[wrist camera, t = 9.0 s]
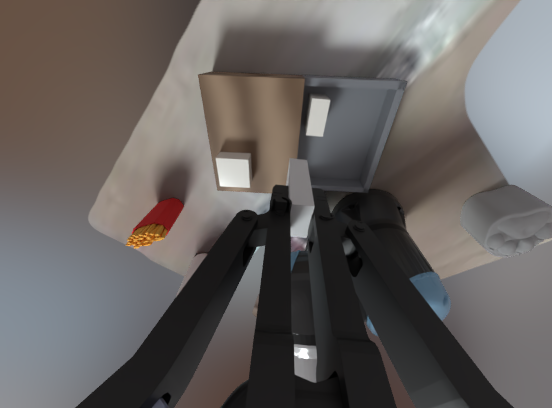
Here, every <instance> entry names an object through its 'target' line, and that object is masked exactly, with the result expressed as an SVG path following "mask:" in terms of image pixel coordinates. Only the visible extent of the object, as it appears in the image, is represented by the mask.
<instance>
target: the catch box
mask: <svg viewBox="0 0 552 408" xmlns="http://www.w3.org/2000/svg"><path fill="white" fill-rule="evenodd" d="M303 77H304V78H305V83H304V93H303V103H302V113H301V124H300V134H299V144H298V155H297V159H302V160H307V163H308V169H309V175H310V181H311V187H312V188H319V189H322V190H326V191H344V192H363V193H368V191H369V188H370V185H371V182H372V180H373V177H374V174H375V171H376V168H377V166H378V163H379V160H380V157H381V154H382V152H383V149H384V146H385V143H386V140H387V138H388V135H389V132H390V129H391V126H392V123H393V121H394V118H395V115H396V112H397V109H398V107H399V104H400V101H401V98H402V95H403V93H404V90H405V87H406V84H407V81H403V80H398V79H388V78H362V77H336V76H310V75H303ZM309 93H317V94H326V96H327V97H328V98H329V99H330V105H329V109H328V114H327V119H326V124H325V128H324V133H323V137H320V136H309V135H306V132H305V127H304V124H305V118H306V111H307V105H308V98H309Z"/></svg>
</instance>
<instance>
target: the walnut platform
mask: <svg viewBox="0 0 552 408" xmlns="http://www.w3.org/2000/svg"><path fill="white" fill-rule="evenodd" d="M198 78H199V84H200V90H201V95H202V101H203V107H204V113H205V119H206V125H207V131H208V137H209V143H210V149H211V155H212V161H213V167H214V173H215V179H216V185H217V190H218V191H237V192H255V193H272V188H273V187H274V186H275V185H286V181H287V174H288V167H289V160H290V158H293V159H297V155H298V144H299V134H300V124H301V113H302V103H303V93H304V83H305V78H304V77H303V75H285V74H259V73H233V72H208V73H203V74H199V75H198ZM220 152H234V153H251V168H252V182H251V186H250V188H242V187H223V186H220V183H219V177H218V171H217V164H216V157H217V155H218V154H219V153H220Z"/></svg>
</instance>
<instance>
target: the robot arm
mask: <svg viewBox="0 0 552 408" xmlns="http://www.w3.org/2000/svg"><path fill="white" fill-rule="evenodd" d="M307 234H308V241H307V245H306V249H305V251H300V250H298V251H297V252H291V236H292V237H302V238H307ZM264 245H265V253H264V261H263V270H262V278H261V286H260V294H259V303H258V311H257V319H256V328H255V334H254V341H253V350H252V357H251V365H250V374H249V379H248V380H247V381H245V382H244V383H242V384H241V385H240V386H239V387H237V388H236V389H235V390H234V391H233V393H231V395H230V396H229V397H228V398H227V400H226V401H225V402H224V404H223V405H222V406H221V408H397V407H396V404H395V401H394V397H393V394H392V391H391V387H390V384H389V381H388V378H387V374H386V371H385V367H384V364H383V361H382V357H381V354H380V352H379V349H378V347H377V346H376V344H375V343H374V342H372V341H371V340H370V339H369V338H368V335H367V332H366V328H365V325H364V322H366V324H367V326H368V328H369V329H370V331H371V332H372V333H373V334H374V335H376V336H379V338H380V340H381V342H382V344H383V346H384V348H385V350H386V352H387V354H388V356H389V358H390V360H391V362H392V364H393V365H394V367H395V369H396V371H397V373H398V375H399V377H400V379H401V381H402V383H403V385H404V387H405V389H406V391H407V393H408V394H409V396H410V398H411V400H412V402H413V403H414V405H415V407H416V408H514V407H513V406H511V405H510V404H509V403H508V402H507V401H506V400H505V399H504V398H503V397H502V396H501V395H500V394H499V393H498V392H497V391H496V390H495V389H494V388H493V387H492V385H491V384H490V383H489V381H488V380H487V379H486V378H485V376H484V375H483V374H482V372H481V371H480V370H479V368H478V367H477V366H476V365H475V363H474V362H473V361H472V359H471V358H470V357H469V356H468V354H467V353H466V352H465V351H464V349H463V348H462V347H461V345H460V344H459V343H458V342H457V340H456V339H455V337H454V336H453V335H452V334H451V332H450V331H449V330H448V328H447V327H446V326H445V325H444V324H443V322H442V320H443V319H444V318H445V317H446V316H447V314H448V313H449V311H450V307H451V301H450V298H449V295H448V294H447V292H446V290H445V288H444V286H443V284H442V283H441V281H440V278H439V276H438V274H436V273H435V272H434V270H433V269H432V267H431V266H430V264H429V263H428V262H427V260H426V259H425V257H424V256H423V254H422V253H421V251H420V250H419V248H418V247H417V245H416V244H415V242H414V241H413V240H412V238H411V237H410V235H409V234H408V232H407V230H406V223H405V216H404V211H403V208H402V206H401V205H400V203H399V202H398V201H397V199H396V198H395V197H394V196H393V195H391V194H390V193H388V192H385V191H382V190H376V189H369V191H368V193H363V192H355V193H353V194H350V195H348V196H347V197H345V198H344V199H342V200H341V201H340V202H339V203H338V204H337V205H336V206H335V208H334V209H333V211H332V213H331V212H330V210H329V206H328V202H327V198H326V194H325V192H324V191H323V190H322V189H319V188H312V187H311V181H310V175H309V169H308V163H307V160H302V159H293V158H290V160H289V167H288V174H287V181H286V185H275V186H274V187H273V188H272V197H271V200H270V210H269V211H268V212H267V213H264V214H261V215H257V214H256V213H255V212H254V211H251V210H242V211H240V212H238V213H237V214H236V216H235V217H234V218H233V220H232V221H231V223H230V224H229V225H228V227H227V228H226V229H225V231H224V232H223V234H222V235H221V236H220V238H219V239H218V240H217V242H216V243H215V245H214V246H213V247H212V249H211V250H210V251H209V253H208V254H207V256H206V257H205V258H204V260H203V261H202V262H201V264H200V265H199V266H198V268H197V269H196V271H195V272H194V273H193V275H192V276H191V277H190V279H189V280H188V282H187V283H186V284H185V286H184V287H183V288H182V290H181V291H180V293H179V294H178V295H177V297H176V298H175V299H174V301H173V302H172V304H171V305H170V306H169V308H168V309H167V310H166V312H165V313H164V315H163V316H162V317H161V319H160V320H159V322H158V323H157V324H156V326H155V327H154V328H153V330H152V331H151V333H150V334H149V335H148V337H147V338H146V339H145V341H144V342H143V344H142V345H141V346H140V348H139V349H138V350H137V352H136V353H135V354H134V356H133V357H132V358H131V359H130V360H128V361H127V362H126V363H125V364H124V365H123V366H122V367H121V368H120V369H118V370H117V371H116V372H115V373H114V374H113V375H112V376H110V377H109V378H108V379H107V380H106V381H105V382H104V383H103V384H102V385H100V386H99V387H98V388H97V389H96V390H95V391H94V392H92V393H91V394H90V395H89V396H88V397H87V398H86V399H85V400H83V401H82V402H81V403H80V404H79V405H78V406H77V407H76V408H174V407H175V405H176V404H177V402H178V401H179V399H180V398H181V396H182V395H183V393H184V391H185V390H186V388H187V386H188V384H189V382H190V380H191V379H192V377H193V375H194V373H195V371H196V369H197V367H198V365H199V363H200V361H201V359H202V357H203V355H204V353H205V351H206V349H207V347H208V345H209V343H210V341H211V339H212V337H213V335H214V333H215V330H216V328H217V327H218V324H219V322H220V320H221V318H222V316H223V314H224V312H225V310H226V308H227V306H228V304H229V302H230V300H231V298H232V296H233V294H234V292H235V290H236V288H237V286H238V284H239V282H240V280H241V278H242V276H243V274H244V272H245V270H246V268H247V266H248V264H249V262H250V260H251V258H252V256H253V254H254V252H255V250H256V247H258V246H264ZM307 249H308V251H307Z"/></svg>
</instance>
